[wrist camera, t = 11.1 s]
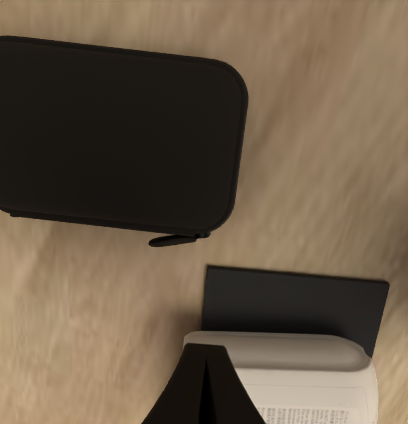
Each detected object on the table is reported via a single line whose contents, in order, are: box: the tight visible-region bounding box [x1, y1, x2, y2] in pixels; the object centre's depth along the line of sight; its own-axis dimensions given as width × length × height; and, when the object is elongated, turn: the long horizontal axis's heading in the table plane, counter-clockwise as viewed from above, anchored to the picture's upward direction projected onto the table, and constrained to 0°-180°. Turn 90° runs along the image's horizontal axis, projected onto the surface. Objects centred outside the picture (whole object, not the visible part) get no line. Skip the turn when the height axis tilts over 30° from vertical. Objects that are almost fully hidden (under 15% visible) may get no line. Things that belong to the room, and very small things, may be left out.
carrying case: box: [0, 36, 248, 247], centre depth 18 cm, size 11×3×15 cm
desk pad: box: [201, 266, 390, 359], centre depth 23 cm, size 12×20×1 cm, turn 175°
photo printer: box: [183, 331, 378, 424], centre depth 21 cm, size 10×4×12 cm
